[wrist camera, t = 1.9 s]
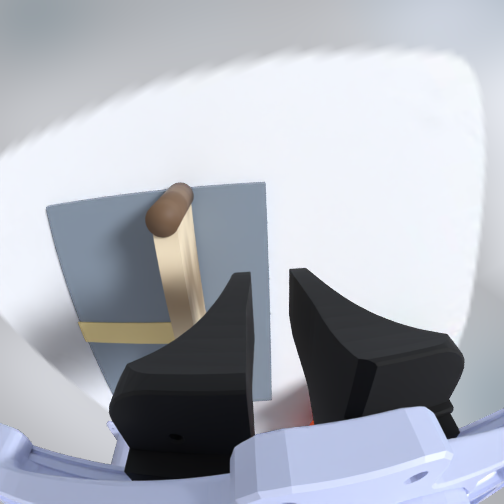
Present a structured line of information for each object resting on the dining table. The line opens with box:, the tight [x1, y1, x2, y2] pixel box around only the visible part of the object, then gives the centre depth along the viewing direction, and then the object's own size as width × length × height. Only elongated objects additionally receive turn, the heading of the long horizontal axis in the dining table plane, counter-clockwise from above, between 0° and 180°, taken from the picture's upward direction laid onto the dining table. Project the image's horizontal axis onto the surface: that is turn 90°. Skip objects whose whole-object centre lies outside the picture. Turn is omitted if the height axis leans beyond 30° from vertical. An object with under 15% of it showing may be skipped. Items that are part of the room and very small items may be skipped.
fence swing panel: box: [145, 183, 206, 339], centre depth 17 cm, size 10×2×5 cm, turn 3°
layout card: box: [46, 182, 272, 401], centre depth 22 cm, size 19×15×1 cm
